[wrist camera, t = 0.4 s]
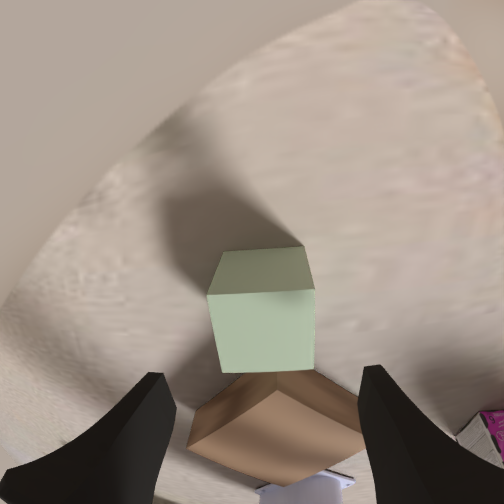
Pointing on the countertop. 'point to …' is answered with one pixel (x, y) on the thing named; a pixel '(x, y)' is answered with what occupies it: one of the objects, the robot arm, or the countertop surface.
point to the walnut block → (278, 426)
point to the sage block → (263, 310)
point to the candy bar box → (485, 436)
